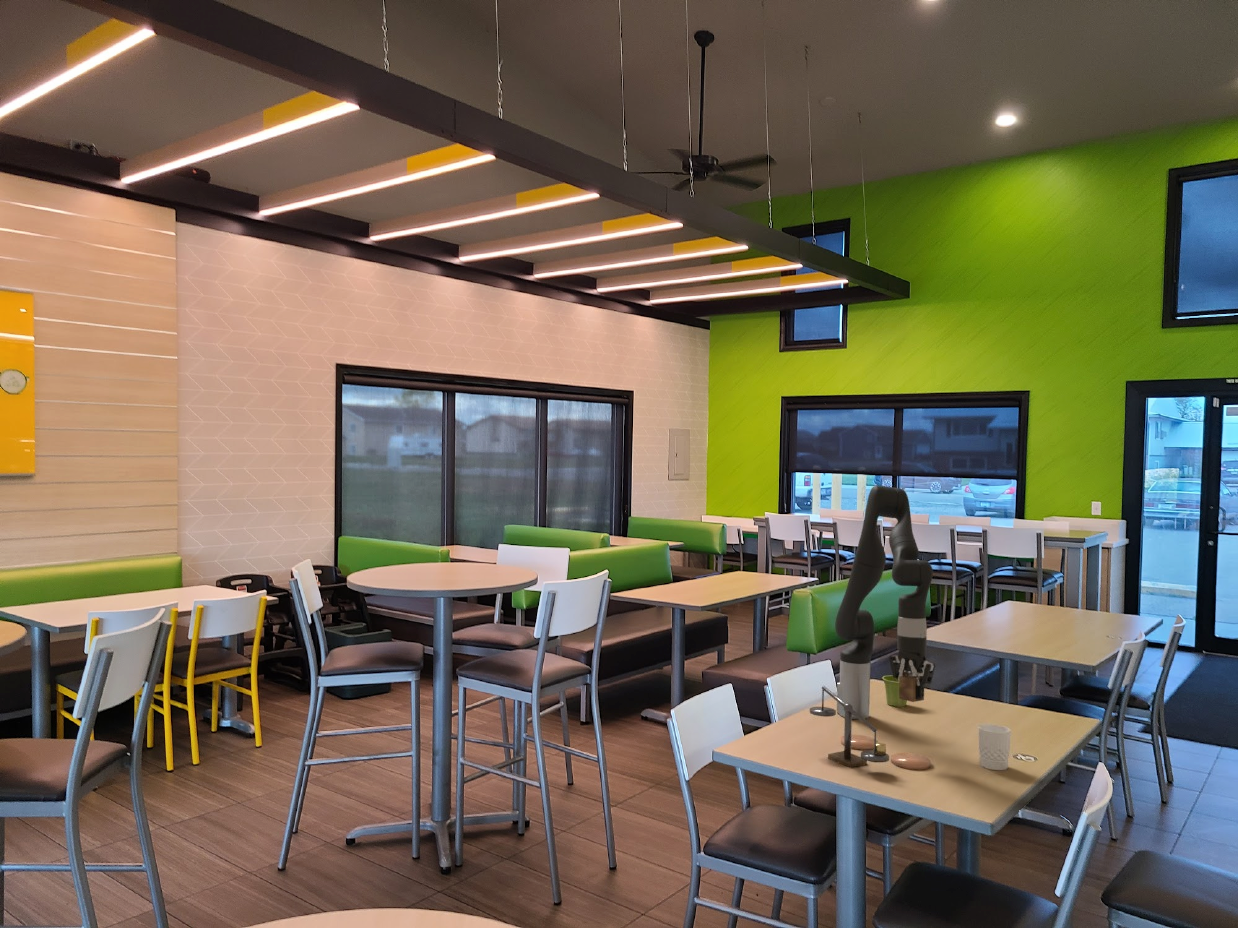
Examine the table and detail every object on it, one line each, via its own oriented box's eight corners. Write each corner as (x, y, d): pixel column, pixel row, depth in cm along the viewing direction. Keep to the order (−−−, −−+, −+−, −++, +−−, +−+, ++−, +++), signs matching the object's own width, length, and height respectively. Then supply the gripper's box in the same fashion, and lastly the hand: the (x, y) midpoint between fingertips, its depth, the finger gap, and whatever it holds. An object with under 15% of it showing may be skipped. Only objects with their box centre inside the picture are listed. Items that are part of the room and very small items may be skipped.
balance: (803, 749, 241) (804, 684, 241) (822, 745, 244) (823, 681, 245) (875, 778, 219) (876, 706, 219) (894, 773, 222) (896, 703, 223)
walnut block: (899, 698, 237) (899, 676, 237) (910, 696, 239) (910, 674, 240) (912, 701, 233) (912, 679, 233) (923, 700, 236) (924, 677, 236)
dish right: (882, 760, 233) (882, 755, 233) (908, 754, 238) (908, 750, 238) (913, 771, 224) (913, 767, 224) (938, 765, 230) (938, 761, 230)
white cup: (993, 760, 235) (994, 722, 236) (1016, 769, 228) (1017, 731, 228) (970, 762, 233) (971, 725, 233) (993, 772, 225) (994, 733, 225)
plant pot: (916, 708, 287) (917, 681, 287) (889, 708, 286) (890, 682, 286) (903, 700, 296) (904, 675, 296) (877, 701, 295) (877, 675, 295)
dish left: (833, 741, 248) (833, 737, 248) (858, 736, 253) (858, 732, 253) (860, 751, 240) (860, 747, 240) (885, 746, 245) (885, 742, 245)
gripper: (881, 631, 241) (881, 693, 240) (924, 638, 229) (924, 704, 228) (900, 629, 245) (899, 690, 244) (943, 636, 233) (942, 701, 232)
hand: (911, 697), depth 236 cm, fingers closed on walnut block, 4 cm apart
